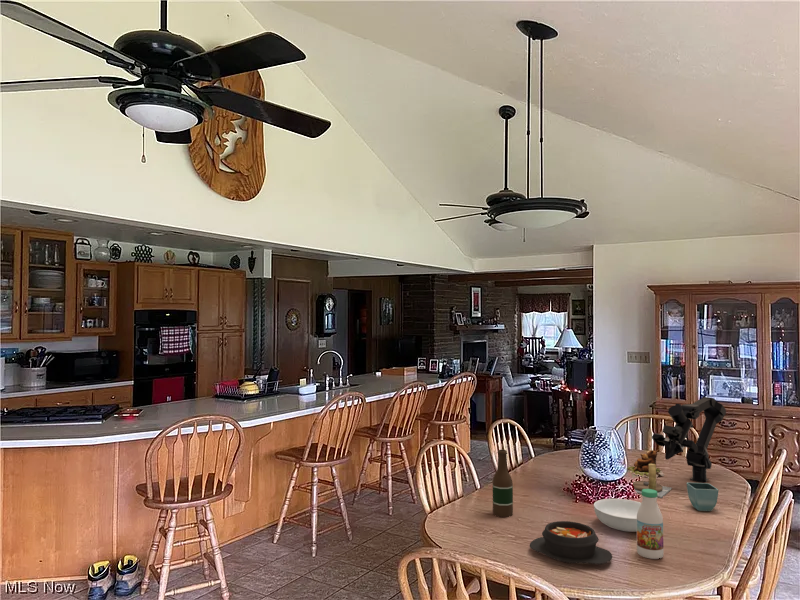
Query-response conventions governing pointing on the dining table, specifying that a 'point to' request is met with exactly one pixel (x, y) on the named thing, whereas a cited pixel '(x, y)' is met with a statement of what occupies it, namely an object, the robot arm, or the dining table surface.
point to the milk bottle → (649, 526)
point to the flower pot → (702, 496)
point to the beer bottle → (502, 488)
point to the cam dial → (651, 483)
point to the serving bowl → (618, 513)
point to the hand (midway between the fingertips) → (666, 458)
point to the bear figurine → (645, 464)
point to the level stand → (661, 493)
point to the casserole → (571, 543)
